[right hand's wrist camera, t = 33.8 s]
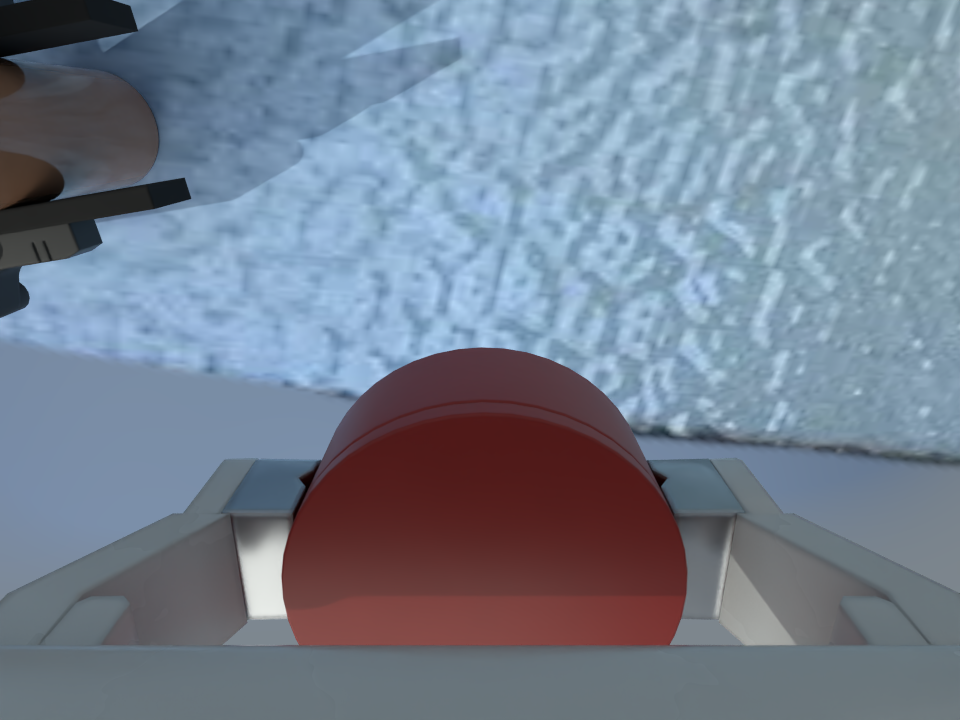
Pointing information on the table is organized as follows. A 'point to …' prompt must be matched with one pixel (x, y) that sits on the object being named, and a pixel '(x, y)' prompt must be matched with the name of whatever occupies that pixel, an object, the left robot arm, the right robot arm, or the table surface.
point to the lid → (484, 515)
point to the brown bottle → (69, 133)
